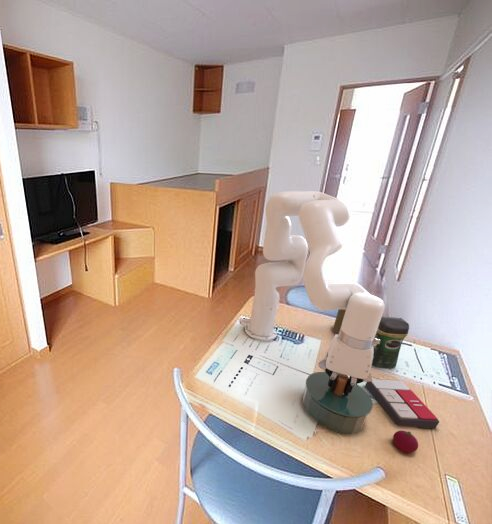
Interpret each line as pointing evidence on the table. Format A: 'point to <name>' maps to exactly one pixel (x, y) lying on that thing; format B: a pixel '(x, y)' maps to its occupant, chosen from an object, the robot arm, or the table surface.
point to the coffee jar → (389, 341)
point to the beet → (405, 441)
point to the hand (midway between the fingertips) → (338, 390)
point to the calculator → (401, 404)
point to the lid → (339, 395)
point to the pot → (331, 417)
